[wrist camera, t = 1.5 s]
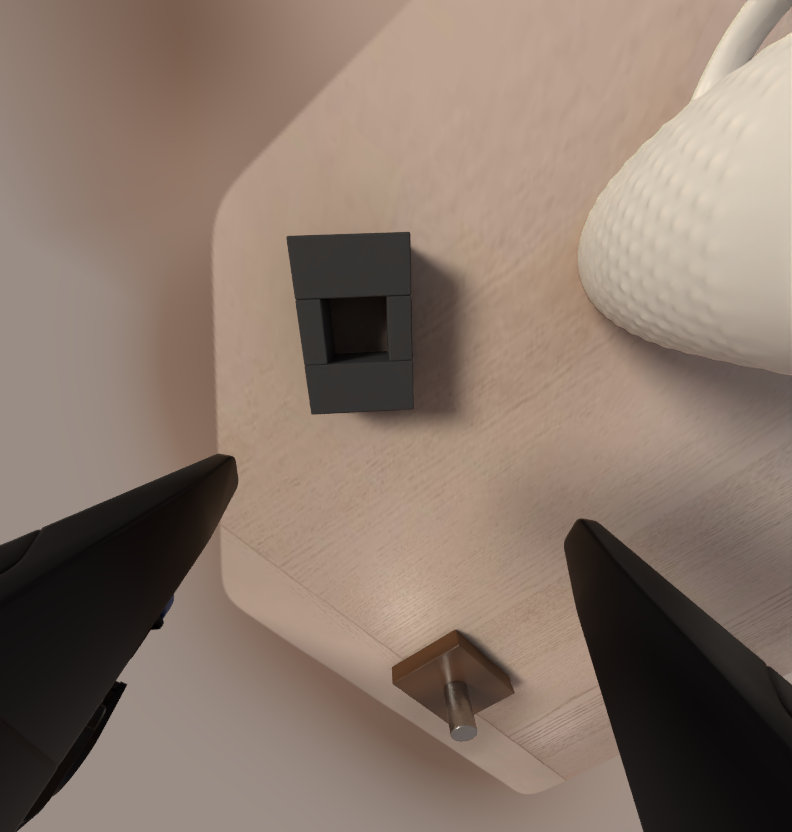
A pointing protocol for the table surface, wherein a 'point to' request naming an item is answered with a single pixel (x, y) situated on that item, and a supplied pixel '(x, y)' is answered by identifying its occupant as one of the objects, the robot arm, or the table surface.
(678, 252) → the mug
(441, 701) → the base pad
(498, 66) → the table surface
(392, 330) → the black sloped block
